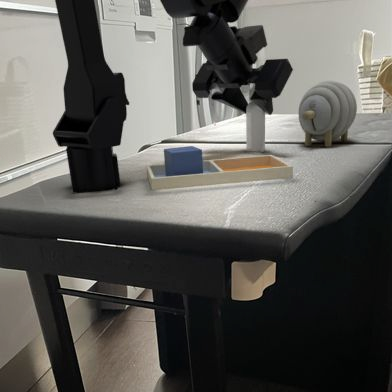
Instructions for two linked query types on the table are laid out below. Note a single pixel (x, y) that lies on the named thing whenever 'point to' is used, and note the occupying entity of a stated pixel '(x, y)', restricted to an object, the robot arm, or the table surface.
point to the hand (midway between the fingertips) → (260, 112)
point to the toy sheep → (327, 112)
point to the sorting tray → (223, 172)
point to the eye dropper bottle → (255, 126)
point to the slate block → (183, 161)
